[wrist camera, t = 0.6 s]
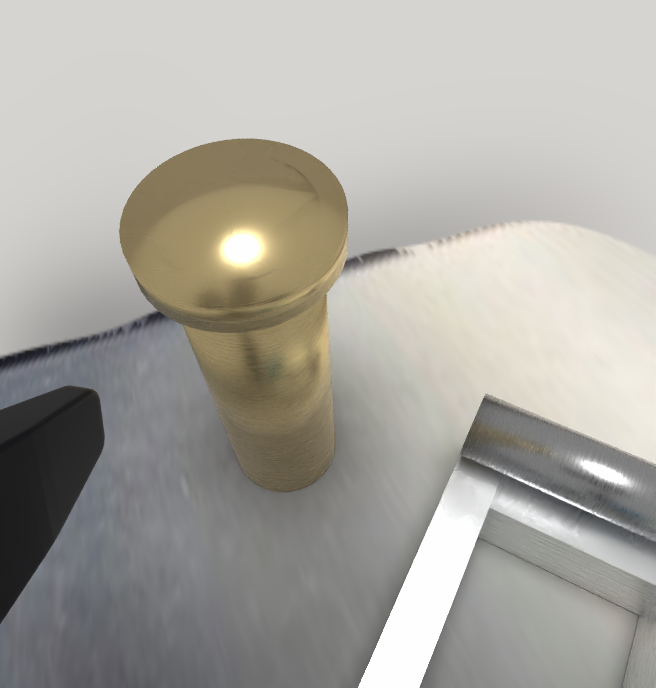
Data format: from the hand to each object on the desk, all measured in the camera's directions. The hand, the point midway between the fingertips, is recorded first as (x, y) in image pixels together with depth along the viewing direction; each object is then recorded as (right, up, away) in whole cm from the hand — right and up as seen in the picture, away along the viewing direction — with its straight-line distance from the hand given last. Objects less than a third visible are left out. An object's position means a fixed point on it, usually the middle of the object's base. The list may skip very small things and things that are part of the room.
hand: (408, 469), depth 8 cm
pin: (-3, -2, +17) cm, 17 cm away
